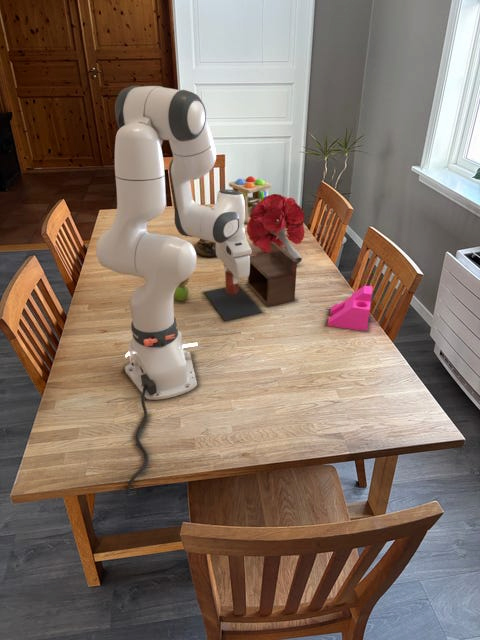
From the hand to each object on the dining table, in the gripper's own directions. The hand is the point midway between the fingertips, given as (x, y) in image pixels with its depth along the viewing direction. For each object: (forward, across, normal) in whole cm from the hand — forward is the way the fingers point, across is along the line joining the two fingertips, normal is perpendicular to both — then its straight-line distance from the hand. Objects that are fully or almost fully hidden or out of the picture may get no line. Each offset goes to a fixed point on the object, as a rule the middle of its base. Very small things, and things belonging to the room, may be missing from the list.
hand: (231, 279), depth 164 cm
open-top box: (+9, -1, +15) cm, 17 cm away
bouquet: (+9, -29, +32) cm, 44 cm away
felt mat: (+9, 0, 0) cm, 9 cm away
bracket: (+9, +25, +30) cm, 40 cm away
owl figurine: (+9, -43, +8) cm, 45 cm away
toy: (+5, 0, 0) cm, 5 cm away
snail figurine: (+6, -8, -15) cm, 19 cm away
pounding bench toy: (+9, -67, +40) cm, 78 cm away
